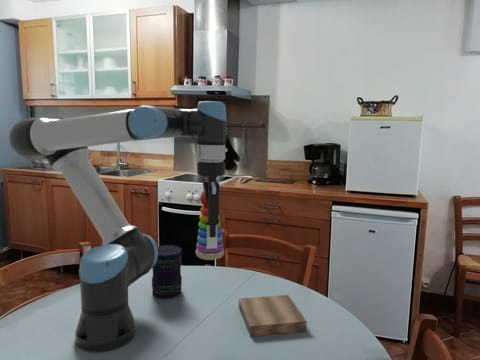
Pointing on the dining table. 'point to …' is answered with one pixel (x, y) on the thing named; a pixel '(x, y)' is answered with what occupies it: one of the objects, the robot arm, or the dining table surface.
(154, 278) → the storage jar
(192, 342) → the dining table surface
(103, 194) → the robot arm
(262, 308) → the walnut base
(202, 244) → the stacking toy
